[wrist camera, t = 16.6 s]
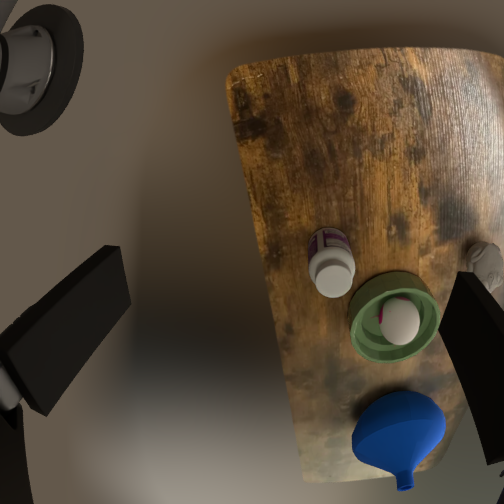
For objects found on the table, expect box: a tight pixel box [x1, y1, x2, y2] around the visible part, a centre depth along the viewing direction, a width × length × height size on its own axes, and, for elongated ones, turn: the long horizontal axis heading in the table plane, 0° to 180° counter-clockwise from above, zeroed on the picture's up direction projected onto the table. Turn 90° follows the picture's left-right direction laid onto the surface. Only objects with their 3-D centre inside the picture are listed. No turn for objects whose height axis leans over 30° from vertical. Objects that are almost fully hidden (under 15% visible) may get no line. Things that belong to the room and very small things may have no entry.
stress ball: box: [372, 296, 420, 345], centre depth 41 cm, size 8×8×7 cm
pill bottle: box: [308, 228, 355, 298], centre depth 36 cm, size 5×5×10 cm
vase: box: [352, 391, 446, 491], centre depth 44 cm, size 18×18×19 cm
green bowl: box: [347, 272, 440, 363], centre depth 41 cm, size 13×13×5 cm
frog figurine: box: [466, 242, 504, 293], centre depth 34 cm, size 6×7×7 cm
